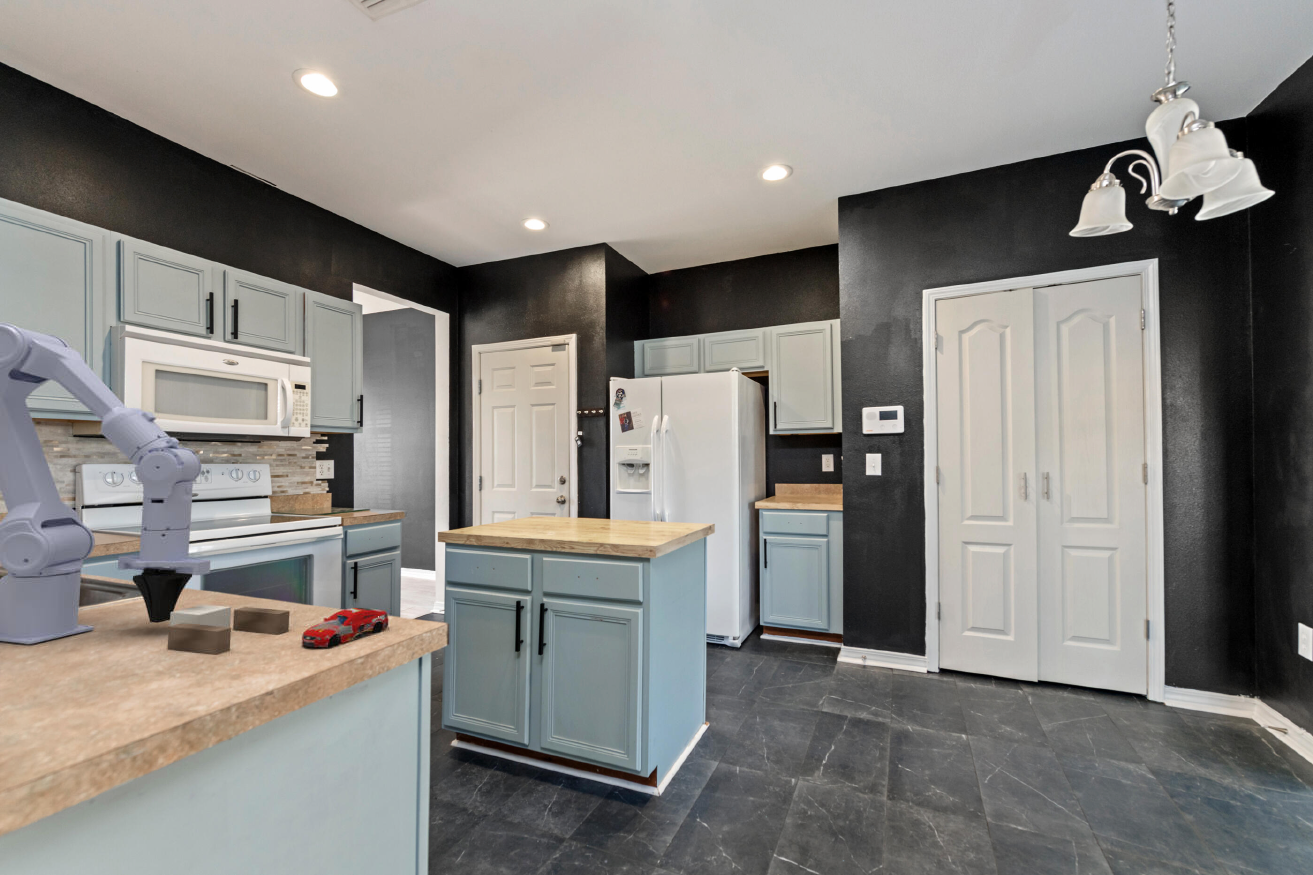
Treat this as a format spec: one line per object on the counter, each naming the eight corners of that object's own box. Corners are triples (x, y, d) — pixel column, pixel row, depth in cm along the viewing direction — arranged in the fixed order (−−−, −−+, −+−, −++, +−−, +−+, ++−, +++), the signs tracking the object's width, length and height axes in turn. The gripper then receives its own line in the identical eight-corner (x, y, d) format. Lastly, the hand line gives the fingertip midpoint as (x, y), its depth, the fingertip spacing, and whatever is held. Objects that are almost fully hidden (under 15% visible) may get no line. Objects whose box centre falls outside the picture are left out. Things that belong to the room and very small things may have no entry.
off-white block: (168, 640, 87) (170, 612, 87) (202, 631, 92) (203, 604, 92) (197, 643, 86) (199, 614, 86) (229, 634, 90) (231, 607, 91)
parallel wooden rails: (167, 648, 82) (168, 626, 83) (244, 626, 94) (245, 606, 94) (216, 654, 81) (217, 631, 81) (288, 630, 92) (289, 610, 93)
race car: (319, 654, 83) (321, 624, 83) (291, 648, 85) (293, 619, 85) (394, 630, 95) (395, 604, 95) (368, 625, 97) (370, 600, 98)
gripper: (98, 528, 88) (91, 623, 88) (179, 533, 85) (173, 631, 85) (147, 524, 95) (142, 612, 95) (225, 528, 92) (219, 619, 92)
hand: (160, 620), depth 90 cm, fingers closed
